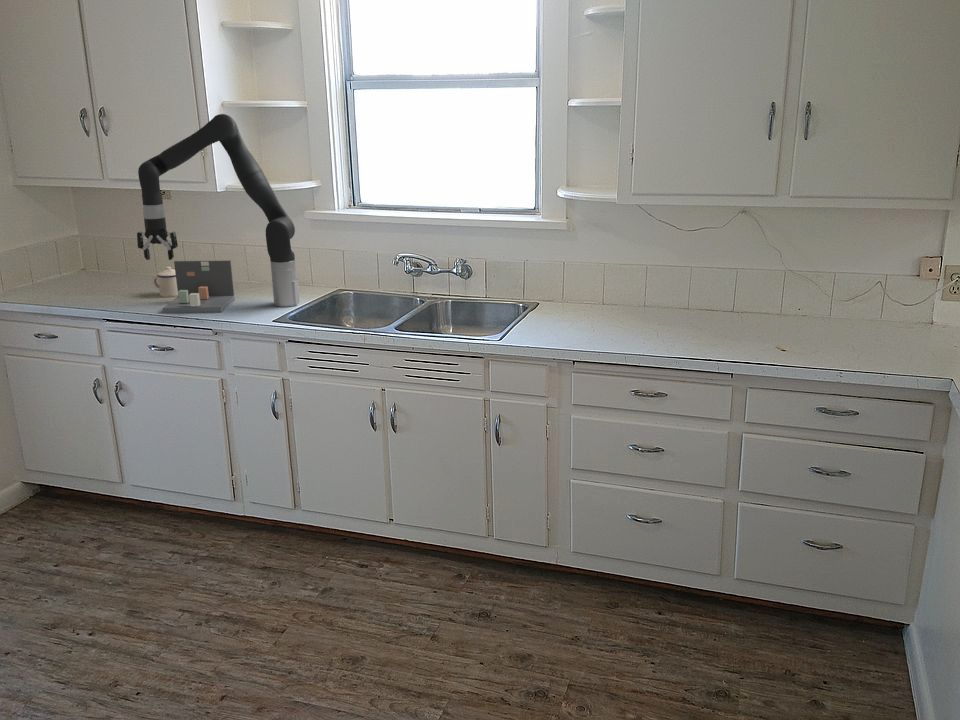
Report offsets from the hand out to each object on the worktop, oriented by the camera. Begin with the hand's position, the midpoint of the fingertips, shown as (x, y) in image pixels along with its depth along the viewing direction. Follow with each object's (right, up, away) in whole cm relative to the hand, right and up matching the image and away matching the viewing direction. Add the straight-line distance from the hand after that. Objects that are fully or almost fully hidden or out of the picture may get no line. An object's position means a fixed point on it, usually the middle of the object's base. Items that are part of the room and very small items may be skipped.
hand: (159, 259), depth 328 cm
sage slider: (+8, -16, +6) cm, 18 cm away
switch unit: (+13, -17, +9) cm, 23 cm away
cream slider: (+14, -17, 0) cm, 22 cm away
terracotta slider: (+14, -14, +11) cm, 22 cm away
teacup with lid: (-6, -11, +28) cm, 31 cm away
